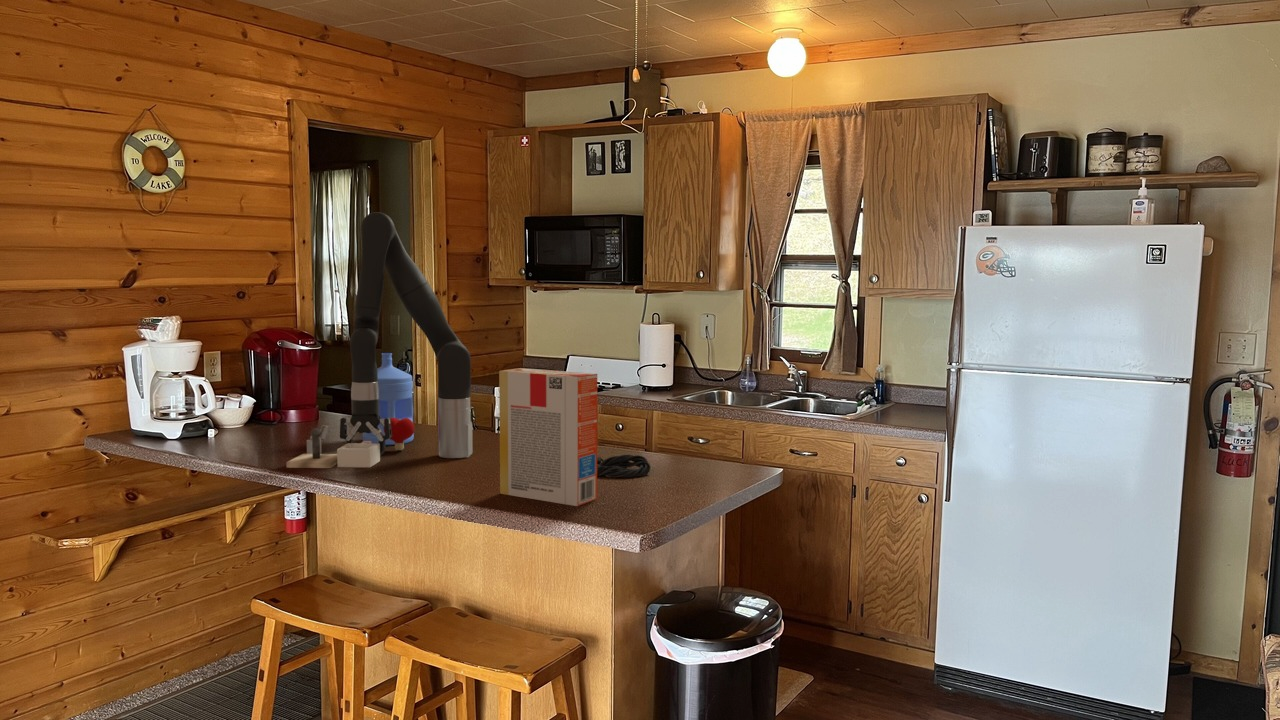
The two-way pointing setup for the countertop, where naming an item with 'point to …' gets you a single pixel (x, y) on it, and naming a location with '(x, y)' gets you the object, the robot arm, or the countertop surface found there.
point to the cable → (623, 466)
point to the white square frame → (358, 454)
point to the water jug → (393, 397)
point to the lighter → (322, 437)
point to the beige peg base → (314, 456)
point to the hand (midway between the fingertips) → (366, 453)
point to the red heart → (401, 431)
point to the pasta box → (548, 435)
